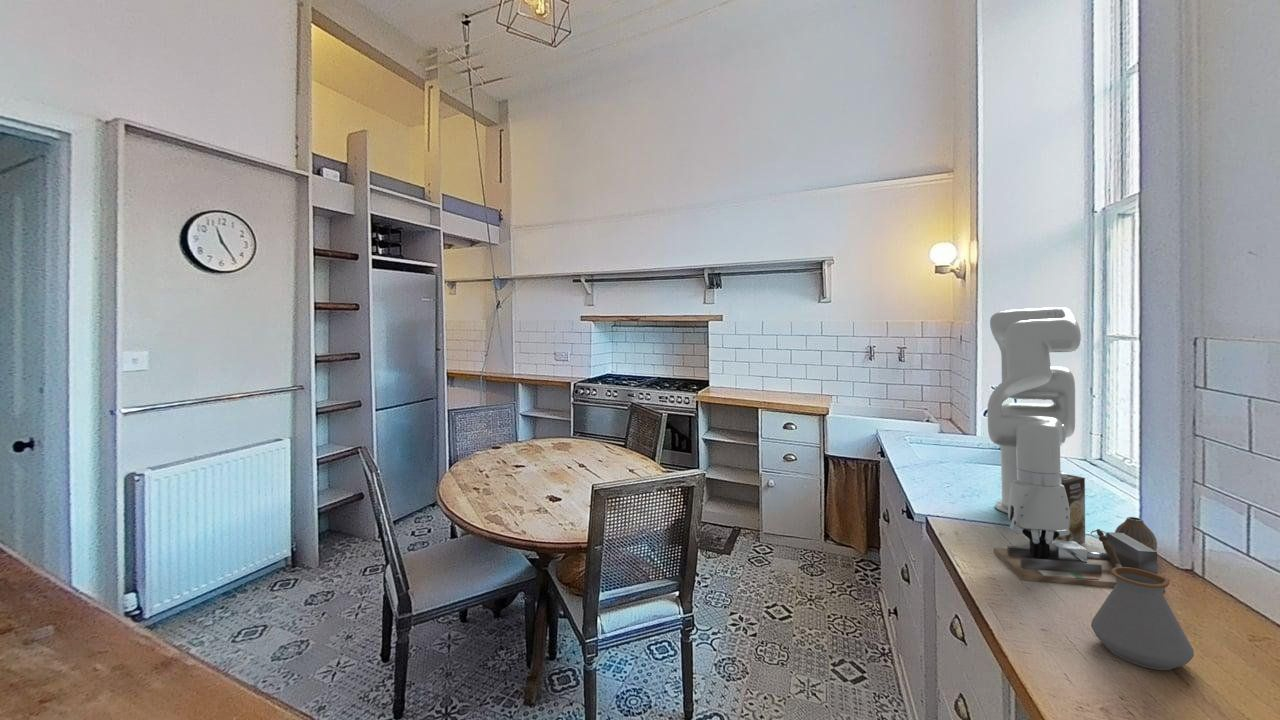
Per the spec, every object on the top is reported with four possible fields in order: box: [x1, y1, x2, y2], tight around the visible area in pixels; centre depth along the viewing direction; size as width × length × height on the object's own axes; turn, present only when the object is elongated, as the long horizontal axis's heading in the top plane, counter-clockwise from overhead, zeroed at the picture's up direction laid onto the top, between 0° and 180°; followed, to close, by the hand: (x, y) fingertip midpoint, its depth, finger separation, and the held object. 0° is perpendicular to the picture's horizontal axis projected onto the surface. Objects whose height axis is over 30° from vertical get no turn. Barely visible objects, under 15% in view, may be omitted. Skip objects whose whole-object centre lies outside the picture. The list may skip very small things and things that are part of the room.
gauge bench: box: [993, 531, 1166, 592], centre depth 105 cm, size 24×14×7 cm, turn 74°
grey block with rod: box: [1048, 540, 1112, 563], centre depth 103 cm, size 11×9×4 cm
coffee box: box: [1037, 474, 1086, 545], centre depth 120 cm, size 9×6×16 cm
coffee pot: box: [1090, 528, 1195, 671], centre depth 82 cm, size 21×12×15 cm, turn 154°
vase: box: [1114, 516, 1158, 552], centre depth 110 cm, size 7×7×9 cm
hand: (1039, 559), depth 107 cm, fingers closed
